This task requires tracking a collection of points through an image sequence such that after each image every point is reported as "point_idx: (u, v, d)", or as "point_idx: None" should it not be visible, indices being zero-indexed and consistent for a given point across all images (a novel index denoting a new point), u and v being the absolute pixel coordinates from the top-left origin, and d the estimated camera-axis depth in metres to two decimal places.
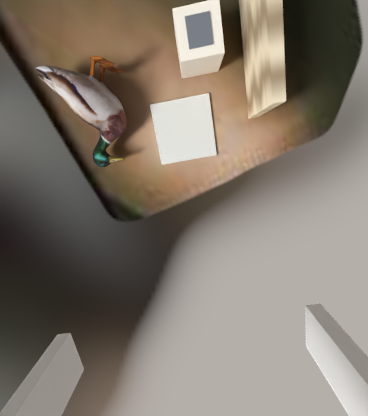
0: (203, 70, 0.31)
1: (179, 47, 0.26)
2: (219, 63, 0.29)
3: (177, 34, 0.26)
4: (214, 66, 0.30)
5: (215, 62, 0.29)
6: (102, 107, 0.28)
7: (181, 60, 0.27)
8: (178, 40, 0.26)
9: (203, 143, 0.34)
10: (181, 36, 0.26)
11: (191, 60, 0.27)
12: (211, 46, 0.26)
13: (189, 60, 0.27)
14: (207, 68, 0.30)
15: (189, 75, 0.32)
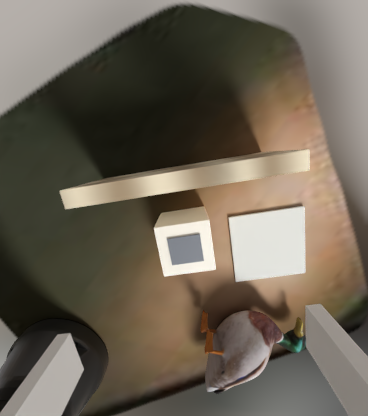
0: None
1: (201, 270, 0.22)
2: (206, 213, 0.24)
3: (188, 272, 0.22)
4: None
5: None
6: (259, 352, 0.24)
7: (214, 268, 0.22)
8: (194, 271, 0.22)
9: (287, 223, 0.27)
10: (190, 268, 0.22)
11: None
12: (202, 236, 0.21)
13: (214, 259, 0.22)
14: None
15: None
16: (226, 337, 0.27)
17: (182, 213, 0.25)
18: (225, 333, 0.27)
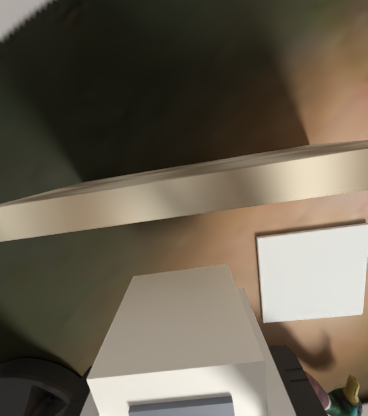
0: None
1: None
2: None
3: None
4: None
5: None
6: None
7: None
8: None
9: (342, 247, 0.19)
10: None
11: None
12: (239, 401, 0.07)
13: None
14: None
15: None
16: None
17: (179, 291, 0.10)
18: None
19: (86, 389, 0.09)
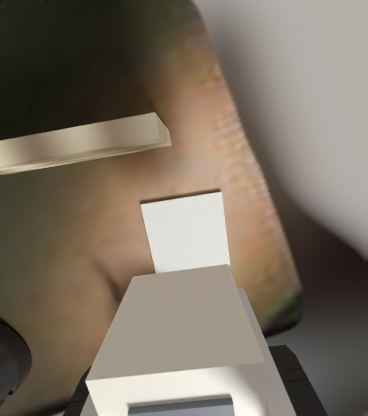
0: None
1: None
2: None
3: None
4: None
5: None
6: None
7: None
8: None
9: (204, 210, 0.24)
10: None
11: None
12: (239, 403, 0.07)
13: None
14: None
15: None
16: None
17: (179, 292, 0.10)
18: None
19: (86, 389, 0.09)
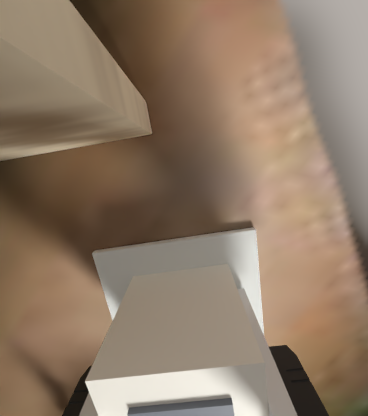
0: None
1: None
2: None
3: None
4: None
5: None
6: None
7: None
8: None
9: None
10: None
11: None
12: (239, 403, 0.07)
13: None
14: None
15: None
16: None
17: (179, 292, 0.10)
18: None
19: (85, 389, 0.09)
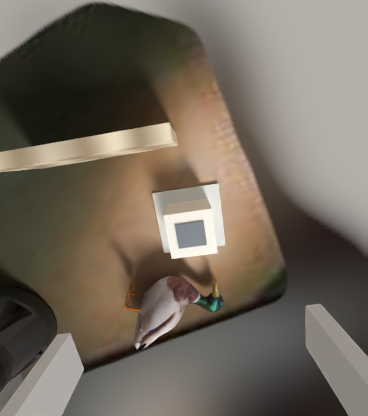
0: None
1: (204, 253, 0.25)
2: (209, 204, 0.27)
3: (193, 255, 0.25)
4: None
5: None
6: (168, 307, 0.27)
7: (216, 252, 0.25)
8: (198, 254, 0.25)
9: None
10: (195, 251, 0.25)
11: None
12: (205, 222, 0.24)
13: None
14: None
15: None
16: (147, 297, 0.30)
17: (188, 204, 0.28)
18: (147, 295, 0.30)
19: None
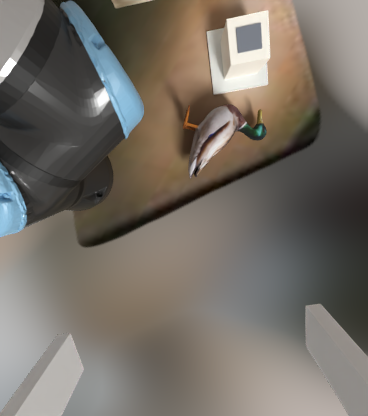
0: None
1: (259, 58, 0.30)
2: None
3: (249, 60, 0.30)
4: None
5: None
6: (224, 114, 0.32)
7: (269, 56, 0.30)
8: (253, 59, 0.30)
9: None
10: (251, 56, 0.30)
11: (269, 47, 0.30)
12: (262, 25, 0.29)
13: (269, 48, 0.30)
14: None
15: None
16: None
17: None
18: None
19: None
